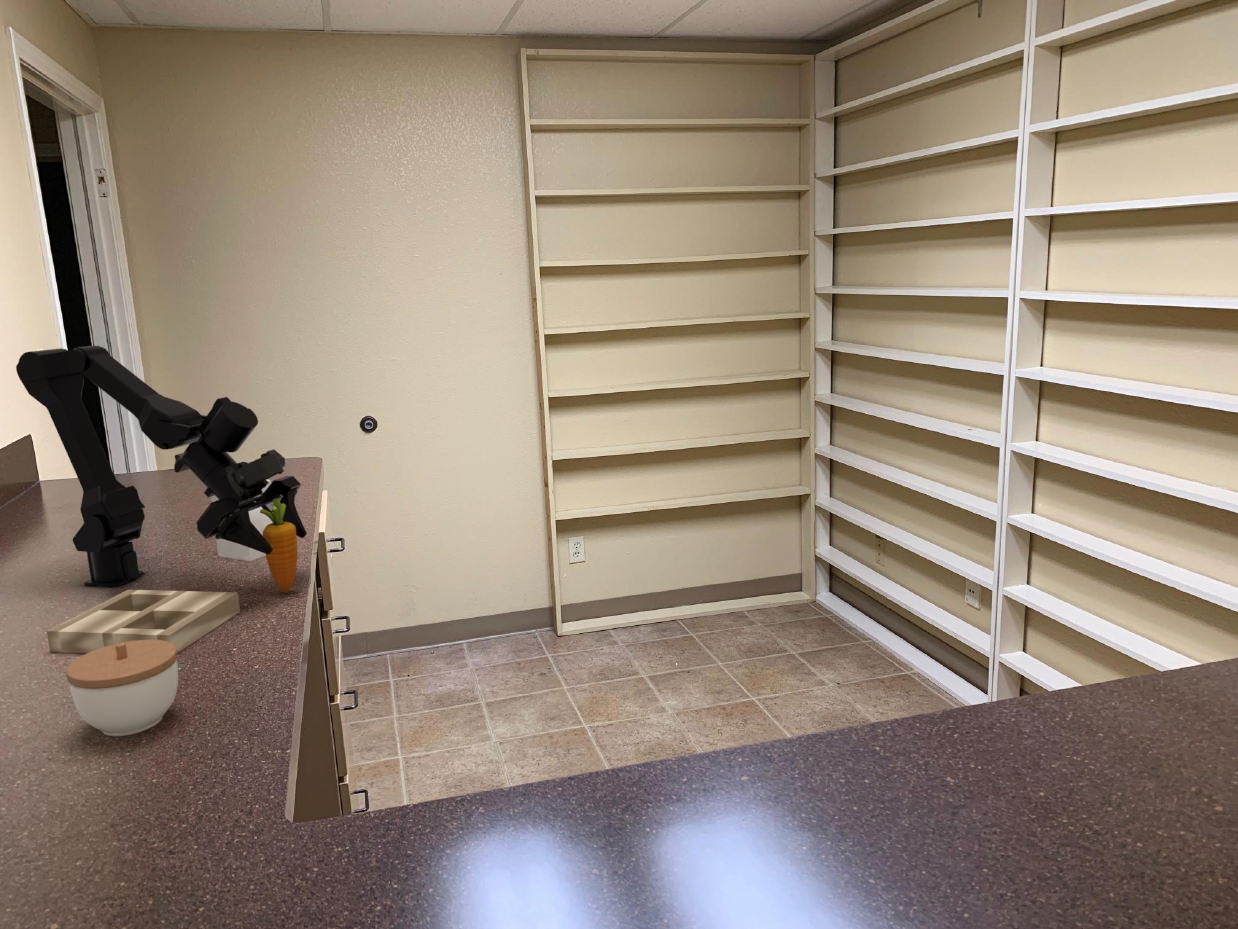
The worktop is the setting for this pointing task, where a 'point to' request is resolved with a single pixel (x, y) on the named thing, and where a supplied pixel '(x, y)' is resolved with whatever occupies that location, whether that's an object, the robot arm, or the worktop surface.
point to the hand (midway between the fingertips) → (288, 544)
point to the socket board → (145, 619)
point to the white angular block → (241, 551)
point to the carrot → (281, 547)
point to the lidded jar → (125, 685)
